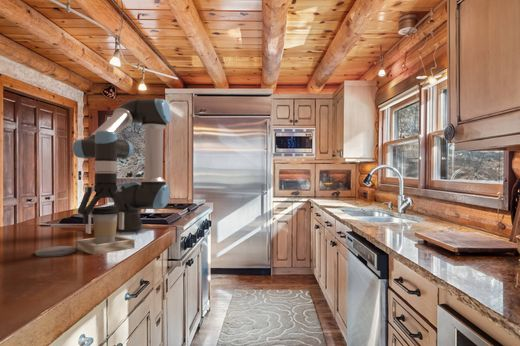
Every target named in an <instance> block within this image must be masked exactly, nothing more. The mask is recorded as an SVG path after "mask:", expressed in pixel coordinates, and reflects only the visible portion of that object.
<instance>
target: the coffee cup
mask: <svg viewBox="0 0 520 346" xmlns="http://www.w3.org/2000/svg"><path fill="white" fill-rule="evenodd" d="M117 213H119V210H117V207H114V206H101V207H100V206H99V207H94V208H93V211H92V210H91V215H92V220H93V221H92V224H93V232H94V233H93V236H94V238H95V241H96V245H98V244H105V243H111V242H114V240H115V235H116V233H117V231H116V226H117Z"/></svg>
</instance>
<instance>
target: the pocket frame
mask: <svg viewBox="0 0 520 346" xmlns="http://www.w3.org/2000/svg"><path fill="white" fill-rule="evenodd" d="M135 241H136V240H135V239H133V238H128V237H125V236H120V235H118V234H117V235H115V240H114V242H111V243H105V244H98V245H96V241H95V237H92V238H84V239H76V240H75V248H76V250H79V251H81V252H85V253H87V254H91V255H94V256H95V255H102V254H107V253H113V252H119V251H123V250H131V249H135V245H136V244H135Z"/></svg>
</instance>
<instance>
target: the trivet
mask: <svg viewBox="0 0 520 346" xmlns="http://www.w3.org/2000/svg"><path fill="white" fill-rule="evenodd" d="M76 250H77V249H76V246H71V245H55V246H47V247H44V248H43V247H42V248H38V249H36V250H35V256H37V257H38V258H39V257H40V258H53V257H54V258H55V257H61V256H68V255H71V254H73V253H74V254H75V253H76Z"/></svg>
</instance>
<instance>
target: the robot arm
mask: <svg viewBox="0 0 520 346" xmlns="http://www.w3.org/2000/svg"><path fill="white" fill-rule="evenodd" d="M171 113H172V111H171V108H170V105H169V103H168V102H167V101H166V99H163V98H142V99H140V98H139V99H138V98H137V99H136V98H134V99H131V100H128V101H126V102H124V103H123V104H121V105H119V106H118V107H117V108H115V110H114V111H113V112H112V115H111V116H110V117H109V118H107V120H105V121H104V122H103V123H102V124H101V125H100V126H99V127H98V128H96V130H94V131H93V132H92V133H91V134H90V135H88V137H86V138H85V139H83V138H81V139H77V140H75V141H74V142H73V144H72V152H73V154H74V156H75V157H76V158H79V159H94V172H96V173H94V186H93V187H92V186H86V187H84V188H85V189H84V195H83V197H82V200H81V202H80V205H79V207H78V209H77V213H78V214H80V215H82V223H83V224H84V225H85V234H88V235H89V234H92V214H90V213H92V210H94V208H95V206H96V205H97V203H98V202H99V201H100V200H101V199H106V198H109V199H112V201H113V207H117V210H119V213H117V226H116V232H133V231H134V232H135V231H140V230H143V222H142V218H141V216H140V209H150V210H151V209H153V210H156V209H164V208H165V207H166V206H167V205H168V203H169V202H170V201H169V200H170V195H171V189H170V186H169V185H168V184H167V182H166V180H165V179H164V177H163V176H164V174H163V173H164V172H163V170H164V169H163V168H164V167H163V166H164V131H165V129H166V128H167V124H168V123H171V119H172V114H171ZM132 124H141V126H142V127H143V128H144V133H145V134H144V178H143V179H142V180H141V182H138V181H132V182H125V183H124V182H123V183H118V179H117V177H118V175H117V171H118V164H117V163H118V160H117V159H121V160H122V159H128V158H130V157H131V156H133V153H134V146H133V144H132V143H131V142H130V141H128V140H125V139H120V138H118V135H119V134H120V133H121V132H122V131H123V130H124V129H125V128H126V127H129V126H131V125H132ZM117 183H118V184H117ZM93 192H95V194H94V195H93V196H92V199H91V201H89V200H90V198H91V195H92V193H93Z"/></svg>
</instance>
